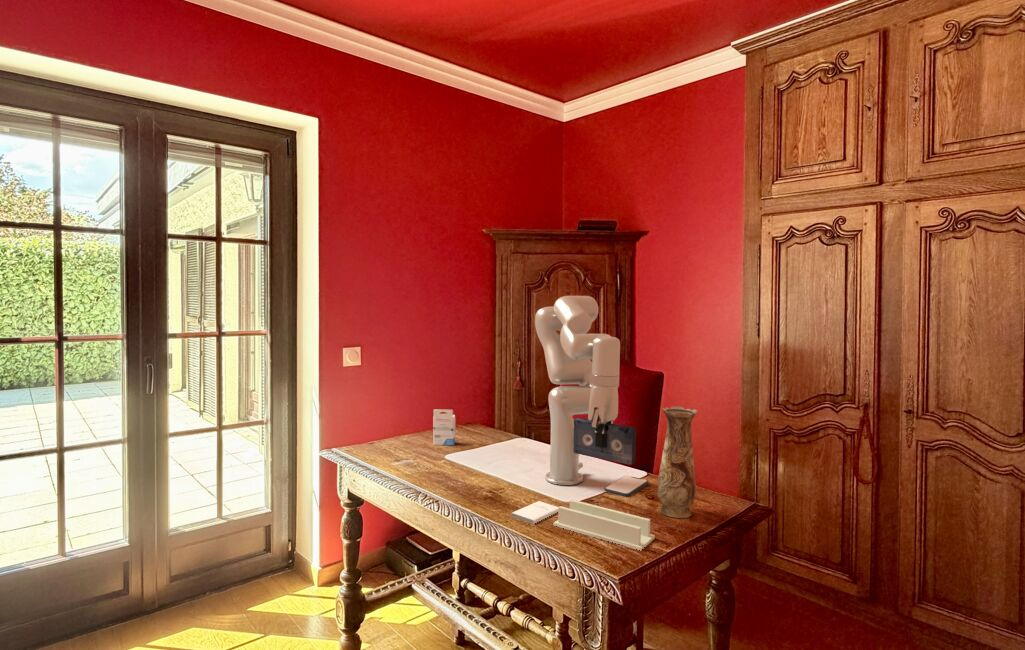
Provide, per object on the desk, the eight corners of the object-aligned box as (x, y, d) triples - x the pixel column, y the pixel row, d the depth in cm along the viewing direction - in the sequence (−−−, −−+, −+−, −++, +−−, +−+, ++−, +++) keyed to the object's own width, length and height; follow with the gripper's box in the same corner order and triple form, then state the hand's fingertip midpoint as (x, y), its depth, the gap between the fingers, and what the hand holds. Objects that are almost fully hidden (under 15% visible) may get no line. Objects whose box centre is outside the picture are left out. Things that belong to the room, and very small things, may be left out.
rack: (569, 515, 160) (570, 497, 159) (654, 538, 145) (655, 519, 145) (553, 525, 152) (553, 507, 152) (641, 551, 138) (641, 531, 138)
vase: (650, 512, 163) (653, 409, 161) (668, 502, 170) (670, 404, 169) (684, 522, 156) (687, 415, 154) (701, 511, 163) (704, 409, 162)
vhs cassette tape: (636, 462, 155) (636, 427, 154) (631, 465, 153) (631, 429, 152) (577, 450, 166) (578, 417, 165) (572, 453, 164) (573, 419, 163)
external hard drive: (510, 518, 158) (538, 505, 168) (533, 526, 153) (560, 512, 163) (510, 512, 158) (538, 500, 168) (533, 520, 153) (560, 507, 162)
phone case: (627, 499, 174) (649, 484, 187) (627, 494, 174) (649, 480, 187) (602, 493, 180) (625, 479, 192) (602, 488, 180) (625, 474, 192)
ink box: (455, 442, 235) (455, 407, 234) (453, 445, 230) (453, 410, 229) (435, 441, 236) (435, 406, 235) (432, 444, 231) (432, 409, 230)
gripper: (605, 375, 166) (604, 437, 168) (579, 383, 153) (577, 449, 155) (629, 378, 162) (627, 441, 163) (604, 386, 149) (602, 454, 150)
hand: (603, 445), depth 159 cm, fingers closed on vhs cassette tape, 2 cm apart
